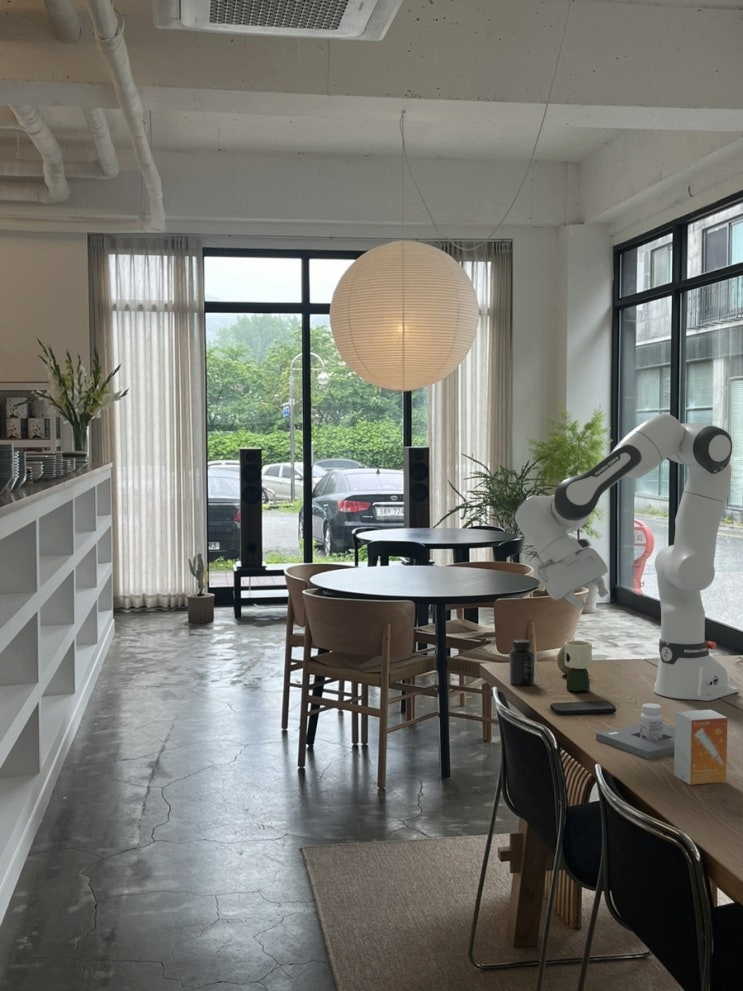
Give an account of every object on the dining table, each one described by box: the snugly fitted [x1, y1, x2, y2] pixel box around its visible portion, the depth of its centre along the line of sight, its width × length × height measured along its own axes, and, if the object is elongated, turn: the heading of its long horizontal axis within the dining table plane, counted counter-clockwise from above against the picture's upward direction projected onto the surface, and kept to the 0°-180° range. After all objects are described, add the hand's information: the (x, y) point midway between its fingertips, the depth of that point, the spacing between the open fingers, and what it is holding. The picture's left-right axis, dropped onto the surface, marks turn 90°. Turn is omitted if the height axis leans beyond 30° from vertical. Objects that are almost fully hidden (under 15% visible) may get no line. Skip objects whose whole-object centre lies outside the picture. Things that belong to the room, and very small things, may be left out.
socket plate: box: [595, 723, 675, 760], centre depth 219 cm, size 18×16×2 cm
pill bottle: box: [640, 702, 664, 742], centre depth 219 cm, size 5×5×8 cm
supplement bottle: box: [508, 639, 536, 687], centre depth 274 cm, size 7×7×12 cm
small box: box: [673, 709, 728, 786], centre depth 196 cm, size 8×6×13 cm
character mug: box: [564, 640, 593, 693], centre depth 266 cm, size 11×7×13 cm, turn 171°
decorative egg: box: [556, 643, 570, 676], centre depth 284 cm, size 7×7×10 cm
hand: (594, 601), depth 238 cm, fingers open, 8 cm apart
